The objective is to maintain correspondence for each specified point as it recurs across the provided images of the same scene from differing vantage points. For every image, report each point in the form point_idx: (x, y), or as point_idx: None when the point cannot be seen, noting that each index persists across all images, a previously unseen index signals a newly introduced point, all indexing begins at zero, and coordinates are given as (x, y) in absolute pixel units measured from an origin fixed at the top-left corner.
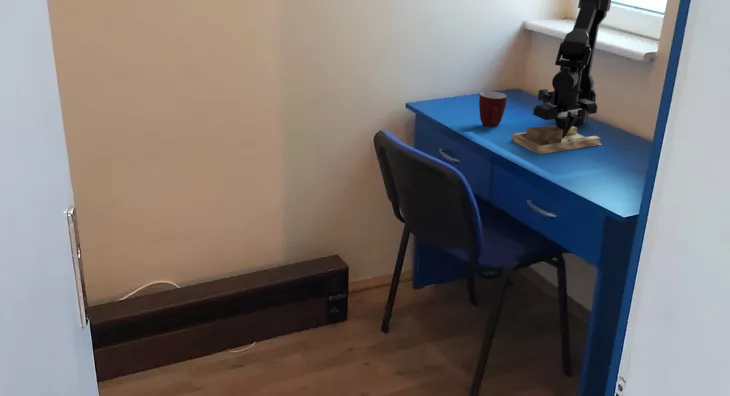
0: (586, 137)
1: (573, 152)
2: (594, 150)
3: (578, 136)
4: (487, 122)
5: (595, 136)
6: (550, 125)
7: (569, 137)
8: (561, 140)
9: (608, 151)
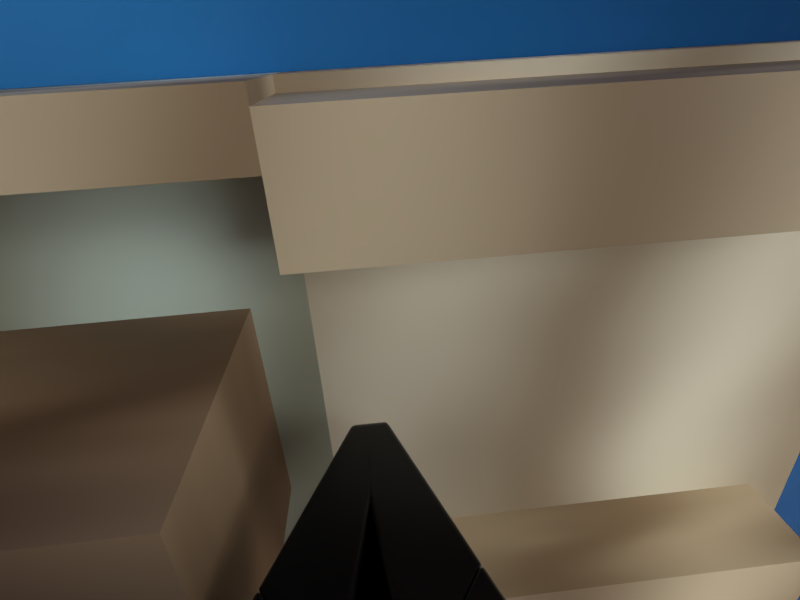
0: (648, 589)
1: None
2: None
3: (793, 277)
4: None
5: (789, 576)
6: (77, 540)
7: (633, 281)
8: (281, 544)
9: None
